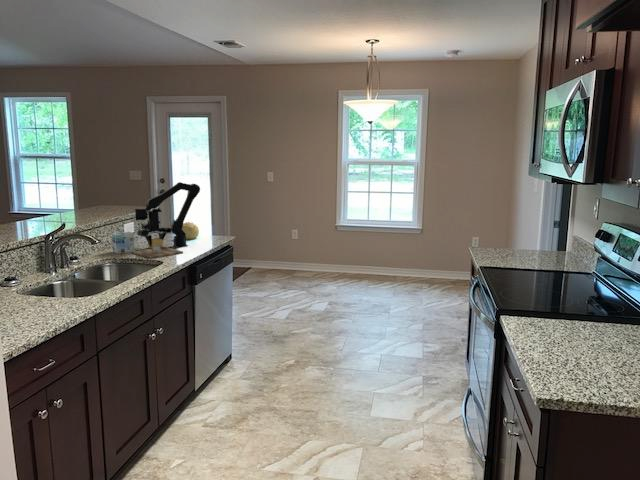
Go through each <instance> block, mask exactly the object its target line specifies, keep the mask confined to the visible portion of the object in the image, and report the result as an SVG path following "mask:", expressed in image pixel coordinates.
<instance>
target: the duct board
mask: <svg viewBox="0 0 640 480" xmlns="http://www.w3.org/2000/svg"><path fill="white" fill-rule="evenodd" d="M131 254H132V255H136V256H140V257H143V258H147V259H151V260H152V259H158V258H163V257H169V256H170V257H171V256H175V255H181V254H184V251H183V250H180V249H175V248H171V247H167V246H163V247H161V253H159V254H153V248H148V249H147V248H146V249H141V250H140V249H139V250H135V251H133V252H132V253H131Z"/></svg>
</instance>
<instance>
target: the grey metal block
mask: <svg viewBox="0 0 640 480" xmlns="http://www.w3.org/2000/svg"><path fill="white" fill-rule="evenodd" d="M159 253H161V246H154V247H153V254H159Z"/></svg>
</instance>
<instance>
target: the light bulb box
mask: <svg viewBox="0 0 640 480" xmlns="http://www.w3.org/2000/svg"><path fill="white" fill-rule="evenodd" d="M111 241H112V242H111V243H112V253H115V254H125V253H131V252H133V251H136V249H135V248H136V247H135V233H134V232H132V231H124V232H123V231H121V232H113V233H111Z"/></svg>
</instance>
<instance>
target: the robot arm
mask: <svg viewBox="0 0 640 480" xmlns="http://www.w3.org/2000/svg"><path fill="white" fill-rule="evenodd" d="M181 190H183V191H187V195H186V197H185V200H184V202H183V205H182V207H181V209H180V212H179V214H178V216H177V217H176V219H172V222H171V224H170V227H168V226H163V227H160V224H161V221H160V213H162V212H163V210H162V209H161V208H160V207H159V206H160V205H161V204H162V203H163V202H164V201H166V200H167V199H168V198H169V197H171V196H173V195H174V194H177V192H179V191H181ZM200 191H201V188H200V185H198V184H196V183H192V184H191V183H189V184H188V183H183V182H181V181H180V182H177V183H176V184H174V185H173V186H172V187H170V188H168V189H166V190H165V191H163V192H161V193H160V194H157V195H155V196H153V197H150V198H149V199H148V200H147V204H146V205H145V207H144V208H134V211H135V213H134V217H135V221H146V220H147V219H148V221H147V223H146V222H144V223H141V224H140V225H141V226H140V227H141V229H139V230H138V231H137V236H141V237H144V238H145V239H146V241H147V245H148V244H149V246H150V247H151V244H152V239H153V238H152V235H151V234H158V238H160V239H162V242H164V238H165V237H166V235H168V233H169V234H170V233H172V234H173V235H174V236H173V240H172V241H173V245H172V246H173V247H175V248H182V247H188V246H189V245H188V244H187V239H186V236H185V235H186V233H185V232H184V231H183V230H182V227H183V223H185V219H186V217H187V214H188V213H189V210H190V209H191V205H192V204H193V202H194V200H195V198H196V197H198V194H199V193H200Z"/></svg>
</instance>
